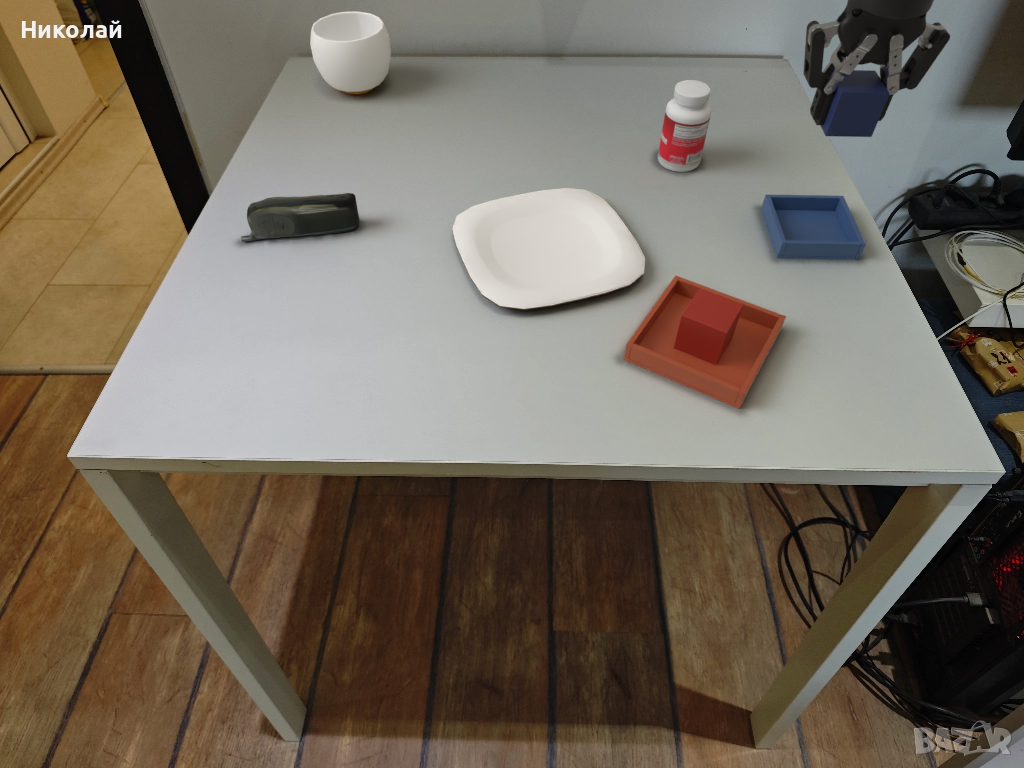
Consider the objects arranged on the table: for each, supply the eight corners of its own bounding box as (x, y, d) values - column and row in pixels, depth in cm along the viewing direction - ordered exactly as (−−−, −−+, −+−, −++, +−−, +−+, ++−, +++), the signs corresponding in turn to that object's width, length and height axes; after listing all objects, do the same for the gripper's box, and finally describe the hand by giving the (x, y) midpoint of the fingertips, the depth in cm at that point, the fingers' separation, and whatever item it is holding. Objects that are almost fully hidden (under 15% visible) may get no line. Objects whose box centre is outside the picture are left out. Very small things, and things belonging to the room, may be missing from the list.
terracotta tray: (779, 332, 82) (786, 316, 80) (739, 409, 74) (745, 393, 72) (671, 291, 86) (675, 275, 84) (623, 360, 79) (626, 344, 77)
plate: (592, 189, 100) (593, 178, 99) (662, 288, 86) (664, 277, 85) (441, 219, 95) (440, 208, 94) (489, 329, 82) (489, 318, 81)
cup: (309, 102, 116) (296, 41, 108) (332, 66, 124) (321, 7, 116) (384, 107, 114) (376, 46, 107) (402, 71, 122) (395, 11, 115)
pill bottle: (661, 146, 107) (674, 74, 99) (703, 154, 106) (719, 81, 97) (653, 169, 103) (665, 95, 95) (696, 177, 102) (712, 102, 93)
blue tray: (837, 211, 97) (843, 195, 95) (858, 260, 90) (866, 244, 88) (760, 210, 97) (765, 194, 95) (776, 258, 90) (782, 242, 88)
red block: (732, 337, 80) (743, 304, 77) (716, 365, 78) (726, 332, 74) (690, 321, 82) (699, 288, 78) (673, 348, 79) (681, 315, 75)
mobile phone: (354, 187, 92) (232, 199, 90) (355, 200, 90) (231, 213, 88) (359, 219, 96) (242, 231, 93) (361, 233, 94) (241, 246, 91)
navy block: (858, 113, 81) (875, 70, 78) (871, 137, 78) (890, 93, 74) (813, 113, 81) (828, 69, 78) (825, 136, 78) (841, 92, 74)
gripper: (841, -34, 64) (785, 139, 77) (1003, -32, 64) (920, 141, 77) (819, -64, 69) (771, 104, 82) (970, -62, 69) (897, 106, 82)
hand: (843, 121), depth 79 cm, fingers closed on navy block, 5 cm apart
